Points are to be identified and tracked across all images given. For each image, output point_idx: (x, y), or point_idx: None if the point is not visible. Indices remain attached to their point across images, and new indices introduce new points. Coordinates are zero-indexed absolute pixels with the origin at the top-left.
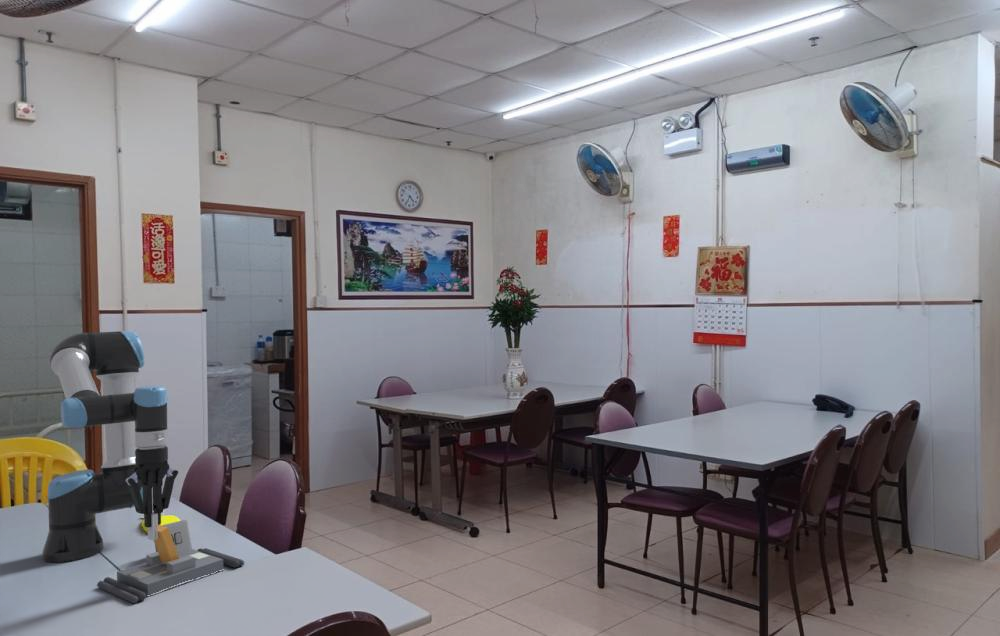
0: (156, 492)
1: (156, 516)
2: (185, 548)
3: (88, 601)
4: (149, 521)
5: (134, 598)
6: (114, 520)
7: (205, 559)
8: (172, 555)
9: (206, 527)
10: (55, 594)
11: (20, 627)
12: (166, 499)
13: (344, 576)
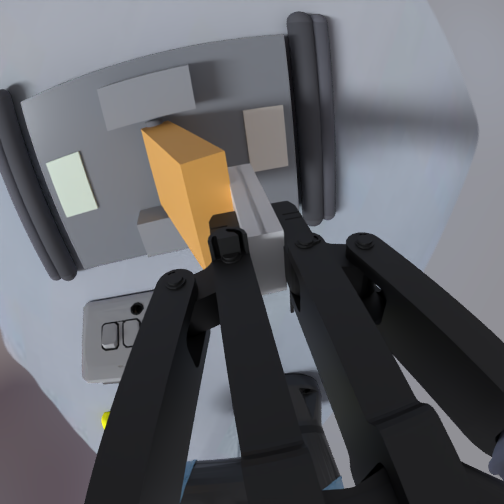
0: (287, 387)
1: (251, 225)
2: (97, 309)
3: (375, 136)
4: (286, 219)
5: (322, 16)
6: (189, 460)
7: (61, 138)
8: (167, 129)
9: (61, 396)
10: (388, 234)
11: (475, 115)
12: (174, 325)
13: None
